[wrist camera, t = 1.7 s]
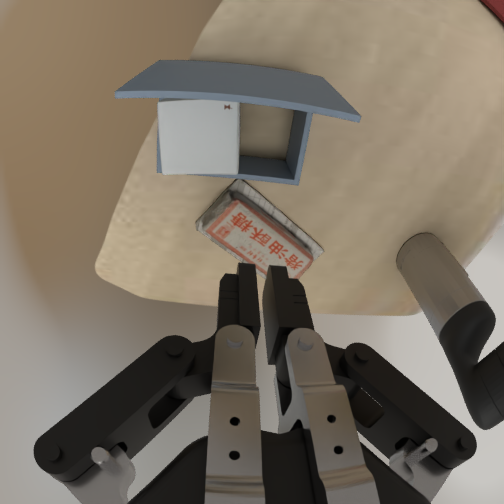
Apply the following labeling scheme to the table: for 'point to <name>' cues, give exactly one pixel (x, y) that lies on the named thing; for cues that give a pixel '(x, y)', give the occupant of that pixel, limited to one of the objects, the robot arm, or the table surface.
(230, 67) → the lid
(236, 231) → the packaged product
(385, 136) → the table surface
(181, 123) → the supplement box
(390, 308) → the table surface
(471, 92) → the table surface
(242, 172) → the open blue-gray box
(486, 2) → the red wedge
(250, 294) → the robot arm
